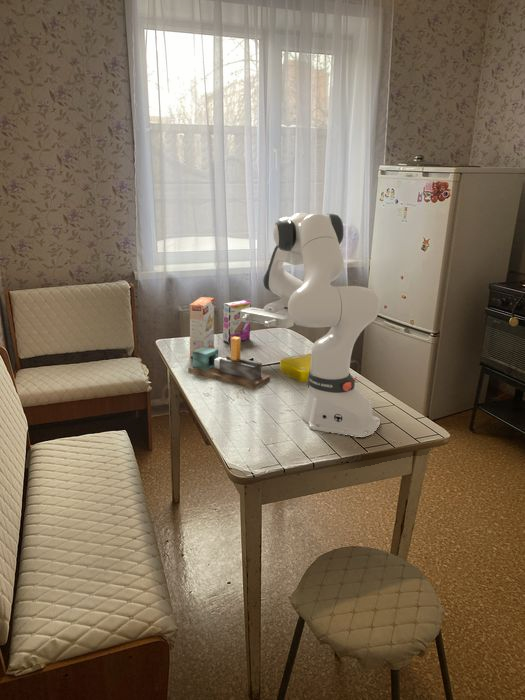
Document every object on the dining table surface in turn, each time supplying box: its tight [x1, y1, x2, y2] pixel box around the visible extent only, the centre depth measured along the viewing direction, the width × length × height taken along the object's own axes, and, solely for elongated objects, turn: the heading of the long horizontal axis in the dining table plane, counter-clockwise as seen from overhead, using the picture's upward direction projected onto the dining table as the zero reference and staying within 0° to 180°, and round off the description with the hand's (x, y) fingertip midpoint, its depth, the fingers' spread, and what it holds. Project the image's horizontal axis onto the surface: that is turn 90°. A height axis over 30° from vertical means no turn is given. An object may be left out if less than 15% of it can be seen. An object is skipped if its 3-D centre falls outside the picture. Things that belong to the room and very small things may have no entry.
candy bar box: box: [222, 300, 252, 344], centre depth 221 cm, size 11×5×16 cm, turn 129°
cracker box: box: [189, 296, 215, 358], centre depth 204 cm, size 14×6×21 cm, turn 168°
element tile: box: [279, 353, 311, 383], centre depth 188 cm, size 15×15×5 cm
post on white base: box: [214, 337, 248, 369], centre depth 181 cm, size 12×3×12 cm, turn 58°
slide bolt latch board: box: [187, 346, 271, 390], centre depth 183 cm, size 28×10×8 cm, turn 58°
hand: (254, 322), depth 187 cm, fingers open, 8 cm apart
